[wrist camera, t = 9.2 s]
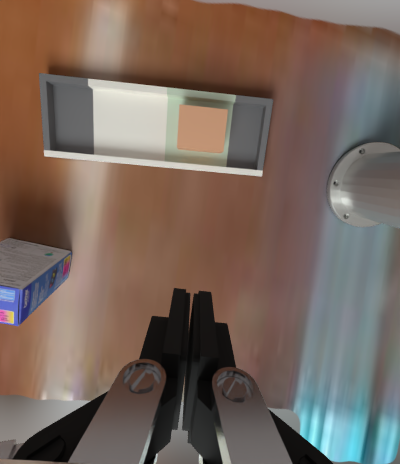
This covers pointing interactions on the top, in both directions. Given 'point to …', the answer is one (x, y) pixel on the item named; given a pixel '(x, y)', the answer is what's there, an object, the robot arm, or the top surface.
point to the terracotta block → (201, 129)
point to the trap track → (147, 125)
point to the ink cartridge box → (28, 277)
